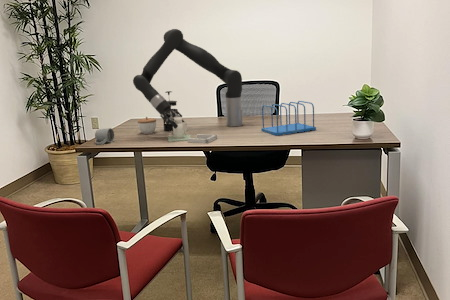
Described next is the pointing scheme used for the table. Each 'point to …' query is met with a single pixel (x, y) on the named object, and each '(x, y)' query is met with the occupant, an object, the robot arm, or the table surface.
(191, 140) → the holder
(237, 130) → the table surface
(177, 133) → the figurine
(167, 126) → the french press
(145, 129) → the lidded jar
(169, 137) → the mat
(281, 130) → the file sorter
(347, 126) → the table surface
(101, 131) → the ceramic mug
